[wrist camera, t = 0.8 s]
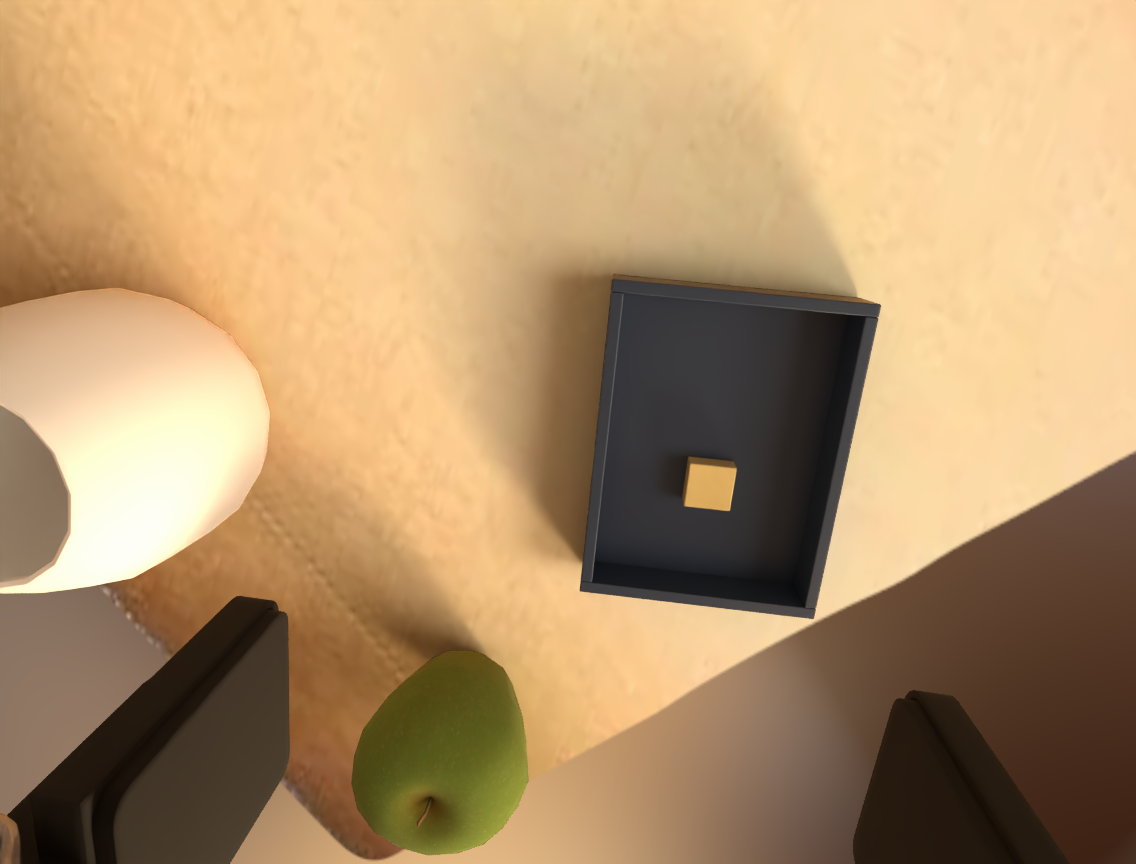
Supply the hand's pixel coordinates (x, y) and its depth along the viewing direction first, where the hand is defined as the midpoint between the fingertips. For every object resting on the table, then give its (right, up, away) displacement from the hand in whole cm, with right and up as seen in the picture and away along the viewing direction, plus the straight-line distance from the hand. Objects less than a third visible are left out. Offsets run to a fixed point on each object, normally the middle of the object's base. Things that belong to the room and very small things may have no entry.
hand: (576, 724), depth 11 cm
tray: (+7, +4, +26) cm, 28 cm away
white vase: (-21, +6, +28) cm, 36 cm away
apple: (-6, -10, +32) cm, 34 cm away
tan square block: (+7, +2, +27) cm, 28 cm away
